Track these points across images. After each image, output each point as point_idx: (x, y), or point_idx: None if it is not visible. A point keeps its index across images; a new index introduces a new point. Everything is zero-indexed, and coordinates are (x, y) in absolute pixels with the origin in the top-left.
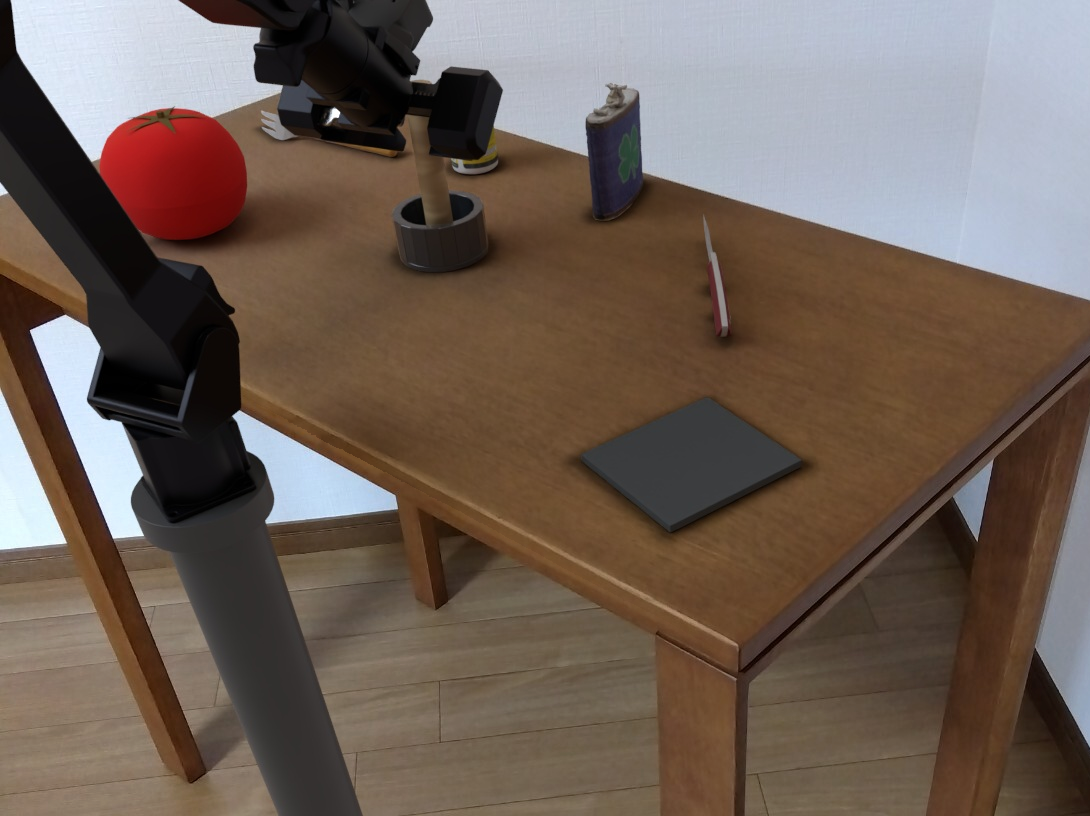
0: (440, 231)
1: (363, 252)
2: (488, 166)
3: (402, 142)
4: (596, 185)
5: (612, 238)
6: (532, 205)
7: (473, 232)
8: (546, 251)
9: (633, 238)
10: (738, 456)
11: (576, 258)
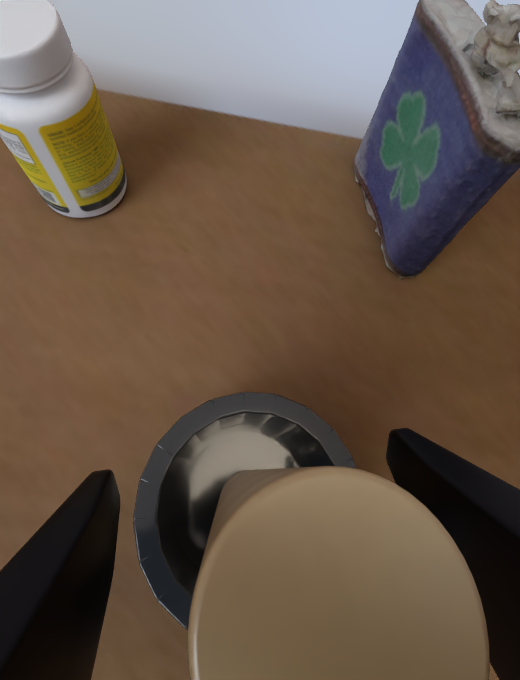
0: None
1: None
2: (122, 190)
3: (110, 497)
4: (438, 245)
5: (466, 320)
6: (274, 272)
7: None
8: (411, 405)
9: (492, 307)
10: None
11: (471, 404)
